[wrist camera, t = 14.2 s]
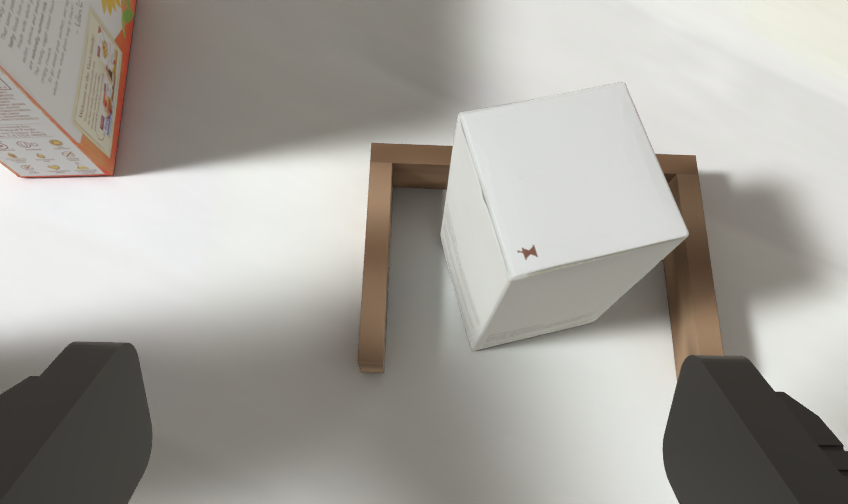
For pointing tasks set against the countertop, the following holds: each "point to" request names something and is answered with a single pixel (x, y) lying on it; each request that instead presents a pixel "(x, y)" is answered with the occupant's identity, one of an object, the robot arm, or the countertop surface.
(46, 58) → the cracker box
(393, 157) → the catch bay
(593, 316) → the supplement box
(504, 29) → the countertop surface
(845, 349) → the countertop surface
